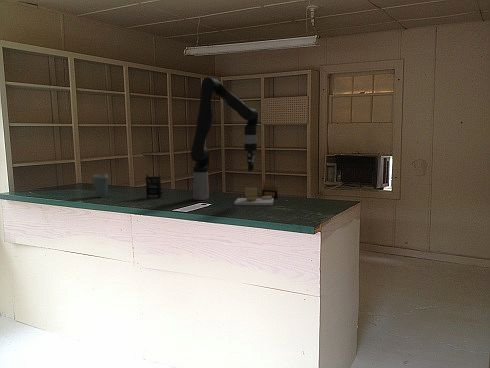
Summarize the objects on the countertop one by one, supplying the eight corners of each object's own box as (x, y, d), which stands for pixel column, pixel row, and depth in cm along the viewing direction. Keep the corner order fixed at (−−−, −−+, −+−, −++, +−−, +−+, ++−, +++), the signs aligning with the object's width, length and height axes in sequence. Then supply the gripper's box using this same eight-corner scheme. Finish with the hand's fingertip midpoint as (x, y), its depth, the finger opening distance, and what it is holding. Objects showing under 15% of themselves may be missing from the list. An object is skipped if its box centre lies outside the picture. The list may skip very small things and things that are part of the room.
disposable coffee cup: (106, 198, 284) (105, 175, 282) (90, 198, 284) (88, 175, 282) (111, 195, 295) (110, 173, 293) (96, 195, 295) (94, 173, 293)
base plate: (234, 205, 253) (234, 199, 253) (237, 200, 268) (237, 195, 268) (272, 205, 251) (272, 199, 250) (273, 200, 265) (273, 195, 265)
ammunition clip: (261, 197, 278) (261, 178, 277) (262, 197, 280) (262, 178, 278) (277, 198, 273) (277, 179, 272) (278, 198, 275) (278, 179, 273)
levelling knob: (244, 200, 258) (244, 188, 257) (246, 198, 264) (245, 187, 263) (259, 200, 257) (259, 188, 256) (260, 198, 263) (260, 187, 262)
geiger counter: (163, 197, 286) (162, 174, 284) (161, 198, 281) (160, 175, 279) (148, 196, 287) (147, 174, 285) (145, 198, 282) (144, 175, 280)
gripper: (245, 142, 263) (246, 169, 265) (242, 143, 249) (243, 171, 251) (258, 142, 262) (258, 168, 265) (255, 143, 248) (256, 171, 251)
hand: (250, 170), depth 258 cm, fingers open, 8 cm apart
